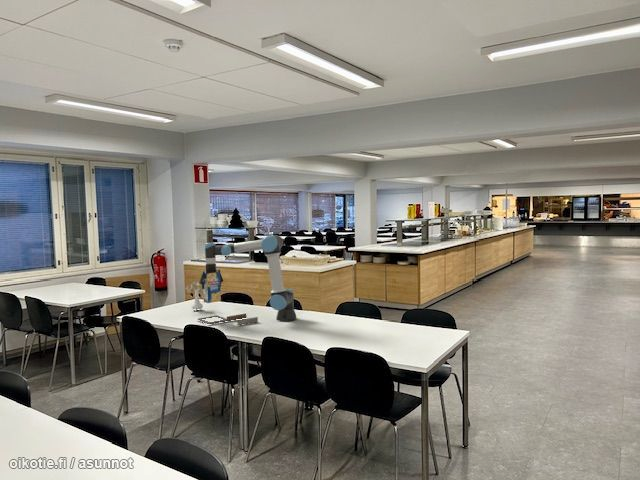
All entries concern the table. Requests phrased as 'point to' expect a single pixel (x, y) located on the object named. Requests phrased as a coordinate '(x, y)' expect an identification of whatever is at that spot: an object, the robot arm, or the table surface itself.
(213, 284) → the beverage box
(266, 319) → the table surface
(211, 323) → the tray
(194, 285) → the flower vase
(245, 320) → the carton holder
